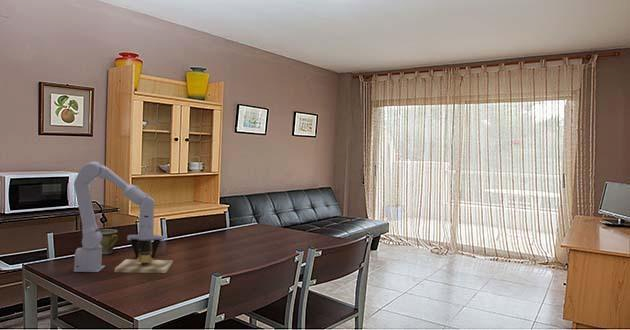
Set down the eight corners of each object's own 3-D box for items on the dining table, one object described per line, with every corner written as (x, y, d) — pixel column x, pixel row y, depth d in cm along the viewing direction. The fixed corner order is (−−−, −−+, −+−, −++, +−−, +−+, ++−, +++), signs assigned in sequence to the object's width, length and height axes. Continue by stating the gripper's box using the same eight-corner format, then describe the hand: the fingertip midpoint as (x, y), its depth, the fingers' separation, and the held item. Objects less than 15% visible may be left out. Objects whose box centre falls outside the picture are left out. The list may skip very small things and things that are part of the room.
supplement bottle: (133, 259, 197) (134, 233, 196) (137, 255, 203) (137, 230, 203) (149, 259, 198) (150, 233, 197) (152, 255, 204) (153, 230, 204)
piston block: (114, 272, 177) (115, 257, 177) (125, 262, 191) (125, 249, 191) (165, 273, 179) (166, 258, 179) (172, 263, 193) (173, 250, 193)
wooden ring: (135, 262, 182) (135, 255, 182) (139, 258, 188) (140, 251, 188) (150, 262, 182) (151, 255, 182) (154, 258, 188) (154, 252, 188)
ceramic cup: (88, 252, 204) (89, 231, 203) (106, 248, 213) (107, 228, 212) (107, 257, 198) (108, 235, 198) (126, 252, 207) (126, 231, 207)
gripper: (125, 226, 180) (124, 259, 180) (161, 227, 181) (160, 260, 182) (130, 223, 187) (129, 255, 187) (165, 224, 188) (164, 255, 189)
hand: (145, 257), depth 185 cm, fingers closed on wooden ring, 6 cm apart
